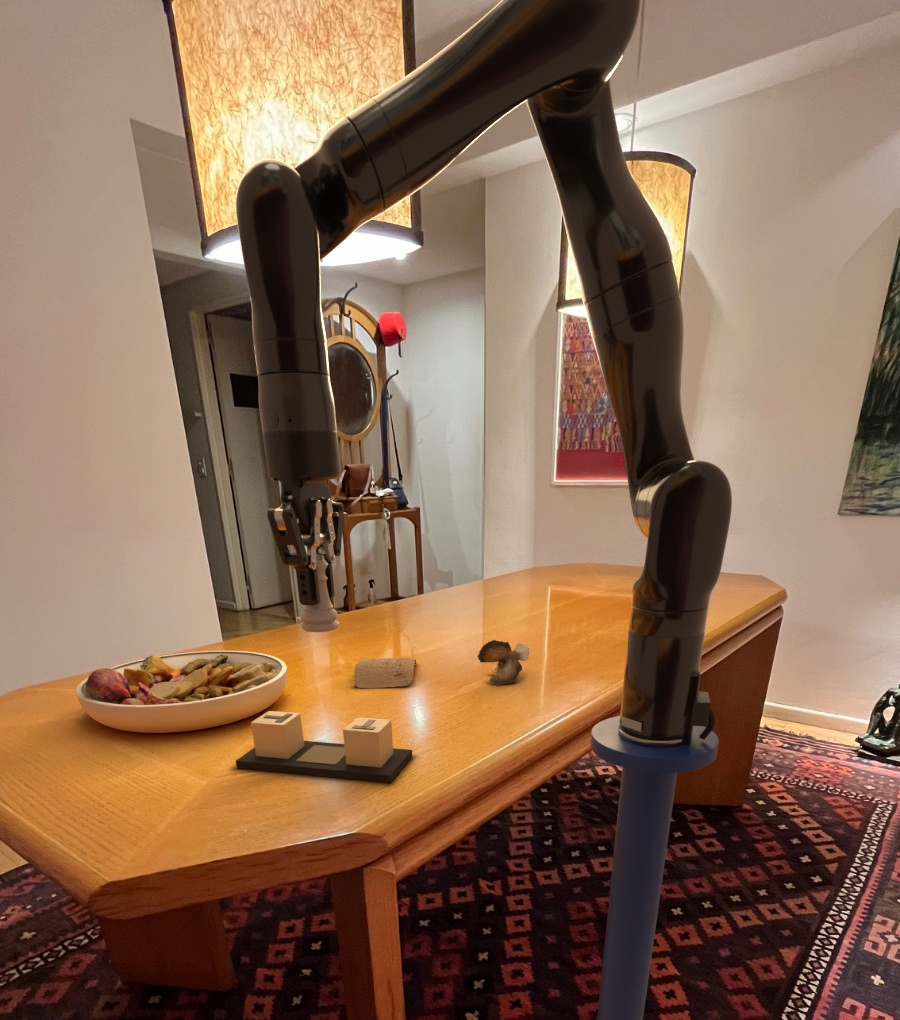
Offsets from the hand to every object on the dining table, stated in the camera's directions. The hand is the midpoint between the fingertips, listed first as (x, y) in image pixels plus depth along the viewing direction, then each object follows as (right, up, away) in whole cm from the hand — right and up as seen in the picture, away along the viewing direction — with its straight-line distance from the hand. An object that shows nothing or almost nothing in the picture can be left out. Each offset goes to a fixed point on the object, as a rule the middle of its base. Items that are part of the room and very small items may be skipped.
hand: (317, 600), depth 76 cm
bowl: (-25, -8, +28) cm, 38 cm away
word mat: (0, -18, +7) cm, 19 cm away
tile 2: (+5, -18, +5) cm, 19 cm away
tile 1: (-6, -17, +8) cm, 19 cm away
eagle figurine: (+24, -2, +38) cm, 45 cm away
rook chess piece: (0, -3, +2) cm, 3 cm away
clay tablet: (+4, -1, +41) cm, 41 cm away
